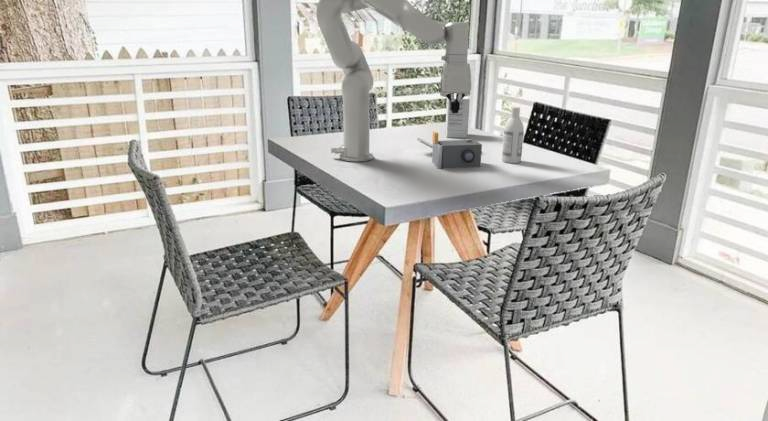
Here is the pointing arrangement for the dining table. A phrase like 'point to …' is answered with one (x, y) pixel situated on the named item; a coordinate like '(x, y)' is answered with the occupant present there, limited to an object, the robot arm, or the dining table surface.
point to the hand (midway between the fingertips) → (454, 112)
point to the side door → (436, 151)
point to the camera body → (461, 153)
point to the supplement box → (457, 120)
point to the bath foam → (513, 138)
